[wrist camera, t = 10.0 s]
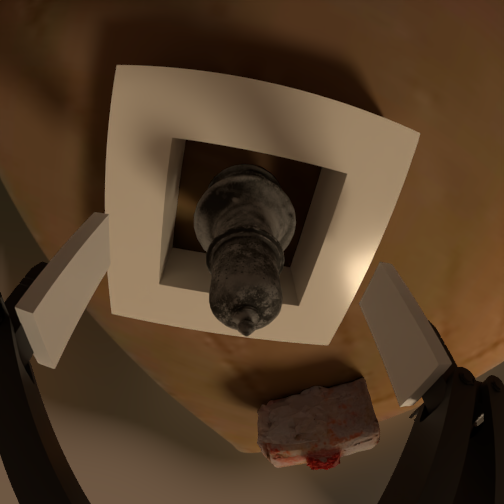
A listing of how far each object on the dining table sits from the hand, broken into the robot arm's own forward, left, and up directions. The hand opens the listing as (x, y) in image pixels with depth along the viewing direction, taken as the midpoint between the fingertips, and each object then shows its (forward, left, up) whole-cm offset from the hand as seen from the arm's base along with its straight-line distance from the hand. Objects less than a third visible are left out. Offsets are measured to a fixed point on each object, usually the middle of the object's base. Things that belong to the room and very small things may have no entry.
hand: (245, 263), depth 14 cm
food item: (+23, +13, -8) cm, 28 cm away
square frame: (0, 0, -8) cm, 8 cm away
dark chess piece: (0, 0, -8) cm, 8 cm away
